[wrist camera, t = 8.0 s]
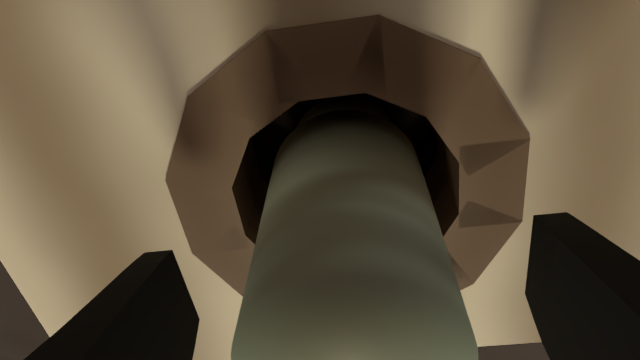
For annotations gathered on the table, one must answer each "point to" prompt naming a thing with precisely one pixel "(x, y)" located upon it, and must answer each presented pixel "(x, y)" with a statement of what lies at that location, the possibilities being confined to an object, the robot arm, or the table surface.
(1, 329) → the table surface
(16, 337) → the table surface
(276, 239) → the green peg
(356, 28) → the socket board
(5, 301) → the table surface
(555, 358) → the robot arm
